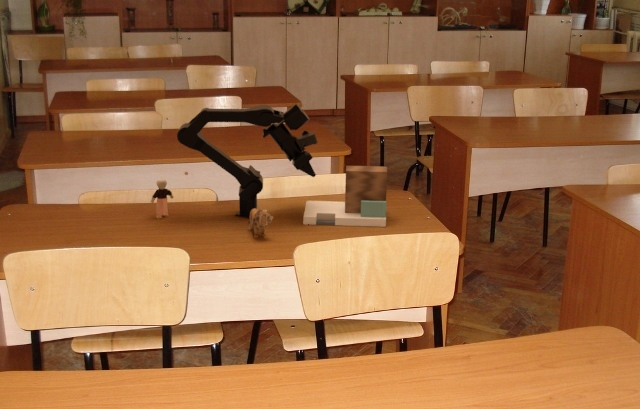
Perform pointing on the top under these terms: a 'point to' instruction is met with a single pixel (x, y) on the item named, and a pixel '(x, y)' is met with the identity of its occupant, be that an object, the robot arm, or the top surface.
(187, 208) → the top surface
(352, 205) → the walnut block
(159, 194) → the grandmother figurine
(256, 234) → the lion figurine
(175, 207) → the top surface
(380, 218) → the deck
